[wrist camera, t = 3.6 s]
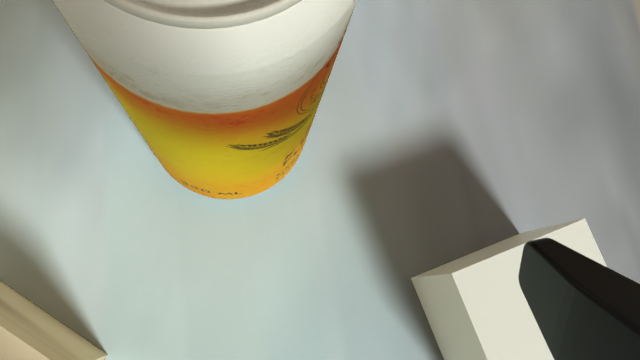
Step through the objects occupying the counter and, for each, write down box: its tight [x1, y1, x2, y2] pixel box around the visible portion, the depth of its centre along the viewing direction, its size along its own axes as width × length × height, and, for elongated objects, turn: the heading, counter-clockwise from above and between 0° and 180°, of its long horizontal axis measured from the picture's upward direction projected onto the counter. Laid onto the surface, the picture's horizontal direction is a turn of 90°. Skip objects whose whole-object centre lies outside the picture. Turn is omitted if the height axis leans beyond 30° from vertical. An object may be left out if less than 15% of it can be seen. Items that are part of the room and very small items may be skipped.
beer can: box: [52, 0, 357, 199], centre depth 17 cm, size 6×6×15 cm
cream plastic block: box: [411, 219, 607, 360], centre depth 21 cm, size 5×5×5 cm
